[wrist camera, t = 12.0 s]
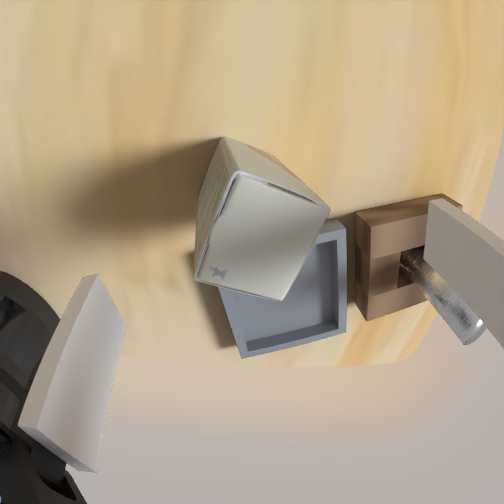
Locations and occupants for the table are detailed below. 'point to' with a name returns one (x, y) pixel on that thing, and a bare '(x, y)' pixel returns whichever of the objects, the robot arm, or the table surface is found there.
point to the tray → (296, 301)
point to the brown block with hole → (389, 255)
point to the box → (254, 222)
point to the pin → (441, 296)
